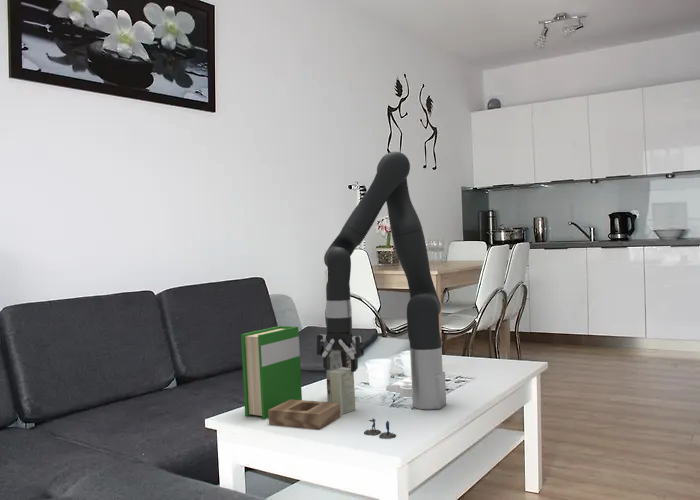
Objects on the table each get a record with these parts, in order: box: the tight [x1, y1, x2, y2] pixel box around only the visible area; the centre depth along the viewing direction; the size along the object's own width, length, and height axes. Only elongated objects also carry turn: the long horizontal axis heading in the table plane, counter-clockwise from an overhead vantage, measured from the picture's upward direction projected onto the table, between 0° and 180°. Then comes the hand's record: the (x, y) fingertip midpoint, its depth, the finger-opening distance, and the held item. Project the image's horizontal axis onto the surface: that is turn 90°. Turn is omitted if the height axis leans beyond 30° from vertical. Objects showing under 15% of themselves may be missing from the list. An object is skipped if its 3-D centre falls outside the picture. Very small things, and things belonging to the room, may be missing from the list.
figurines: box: [363, 418, 397, 440], centre depth 159 cm, size 10×5×4 cm, turn 47°
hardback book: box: [240, 325, 303, 420], centre depth 187 cm, size 18×7×24 cm, turn 147°
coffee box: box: [325, 347, 351, 402], centre depth 196 cm, size 9×6×16 cm
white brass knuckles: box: [385, 376, 412, 397], centre depth 202 cm, size 3×18×15 cm
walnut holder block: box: [268, 399, 341, 430], centre depth 174 cm, size 16×12×4 cm
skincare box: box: [329, 367, 356, 415], centre depth 182 cm, size 6×4×12 cm
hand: (340, 370), depth 183 cm, fingers open, 8 cm apart
